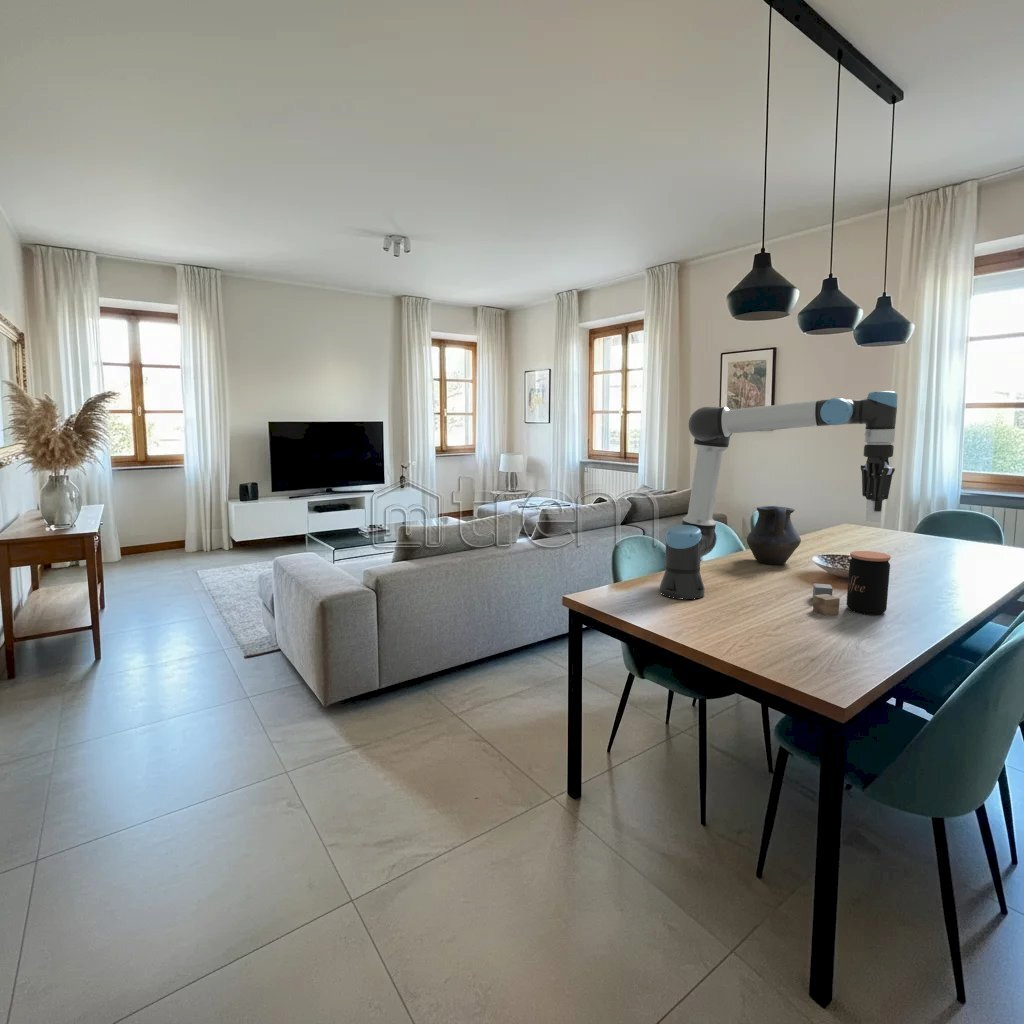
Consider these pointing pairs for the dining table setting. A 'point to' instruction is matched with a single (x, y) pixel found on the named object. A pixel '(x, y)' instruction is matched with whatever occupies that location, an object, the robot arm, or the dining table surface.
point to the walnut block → (826, 604)
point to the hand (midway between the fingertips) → (872, 521)
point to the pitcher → (773, 535)
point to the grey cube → (822, 589)
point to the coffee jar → (868, 582)
